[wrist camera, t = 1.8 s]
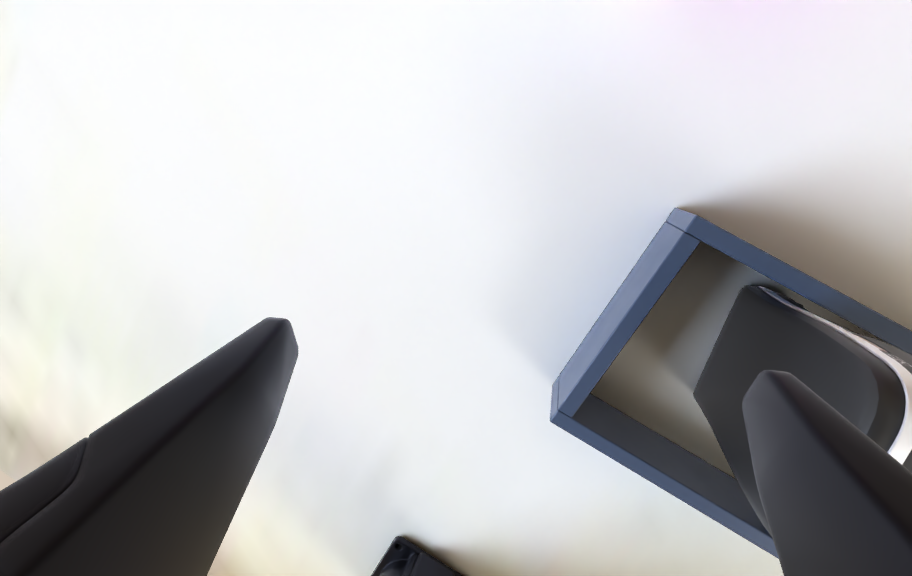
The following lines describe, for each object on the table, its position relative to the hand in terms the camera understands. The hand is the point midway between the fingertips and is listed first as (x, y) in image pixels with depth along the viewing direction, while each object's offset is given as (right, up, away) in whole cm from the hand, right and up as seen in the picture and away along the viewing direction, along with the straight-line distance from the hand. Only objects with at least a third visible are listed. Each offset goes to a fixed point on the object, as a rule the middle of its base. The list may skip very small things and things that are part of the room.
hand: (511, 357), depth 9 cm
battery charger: (+14, -2, +14) cm, 20 cm away
